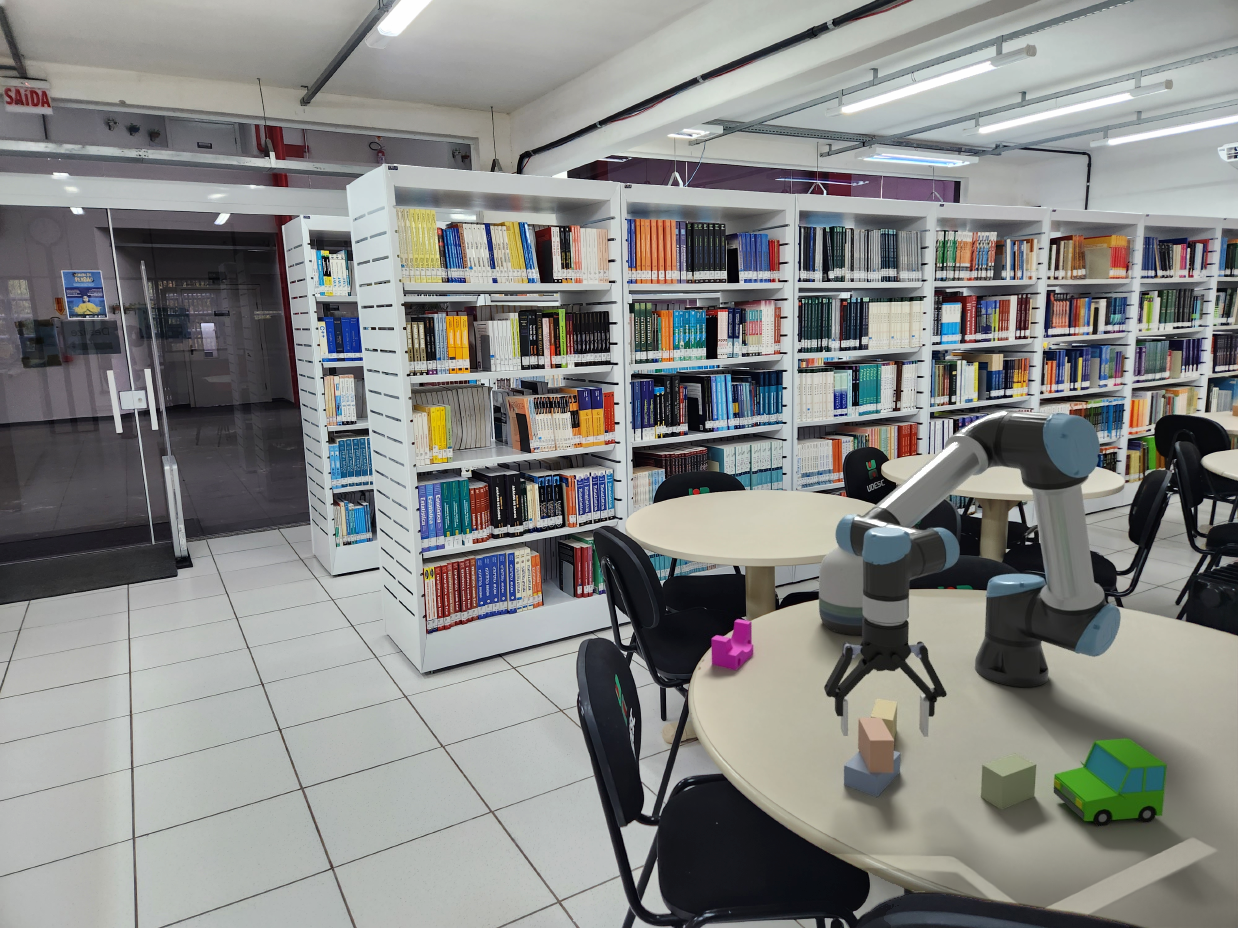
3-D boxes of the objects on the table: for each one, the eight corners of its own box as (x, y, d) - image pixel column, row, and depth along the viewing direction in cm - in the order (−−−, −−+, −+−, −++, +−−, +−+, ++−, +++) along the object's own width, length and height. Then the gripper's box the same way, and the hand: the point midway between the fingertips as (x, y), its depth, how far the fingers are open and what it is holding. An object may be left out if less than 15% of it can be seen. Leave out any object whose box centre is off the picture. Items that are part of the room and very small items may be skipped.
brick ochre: (875, 726, 155) (876, 698, 154) (896, 729, 153) (897, 701, 152) (870, 745, 148) (870, 716, 147) (892, 749, 146) (892, 720, 145)
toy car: (1046, 795, 130) (1049, 740, 128) (1119, 789, 131) (1124, 735, 130) (1087, 833, 120) (1091, 774, 118) (1166, 826, 121) (1172, 768, 120)
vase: (815, 616, 215) (816, 533, 211) (877, 617, 213) (879, 534, 209) (822, 639, 199) (823, 550, 195) (890, 641, 196) (892, 551, 192)
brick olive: (1013, 784, 133) (1015, 752, 132) (1034, 796, 130) (1036, 764, 129) (980, 797, 130) (982, 764, 129) (1001, 809, 127) (1002, 776, 126)
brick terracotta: (858, 748, 140) (858, 717, 139) (880, 748, 139) (881, 717, 138) (869, 772, 132) (870, 740, 131) (893, 772, 132) (894, 740, 131)
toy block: (735, 673, 181) (735, 643, 180) (711, 668, 184) (711, 638, 183) (760, 651, 193) (760, 623, 192) (738, 646, 197) (737, 618, 195)
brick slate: (868, 761, 142) (868, 741, 142) (899, 773, 138) (900, 752, 138) (843, 785, 135) (844, 765, 134) (876, 798, 131) (877, 777, 130)
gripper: (953, 609, 133) (950, 721, 137) (808, 610, 136) (808, 721, 140) (968, 625, 126) (964, 744, 130) (814, 626, 129) (814, 742, 132)
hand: (883, 732), depth 135 cm, fingers open, 13 cm apart
